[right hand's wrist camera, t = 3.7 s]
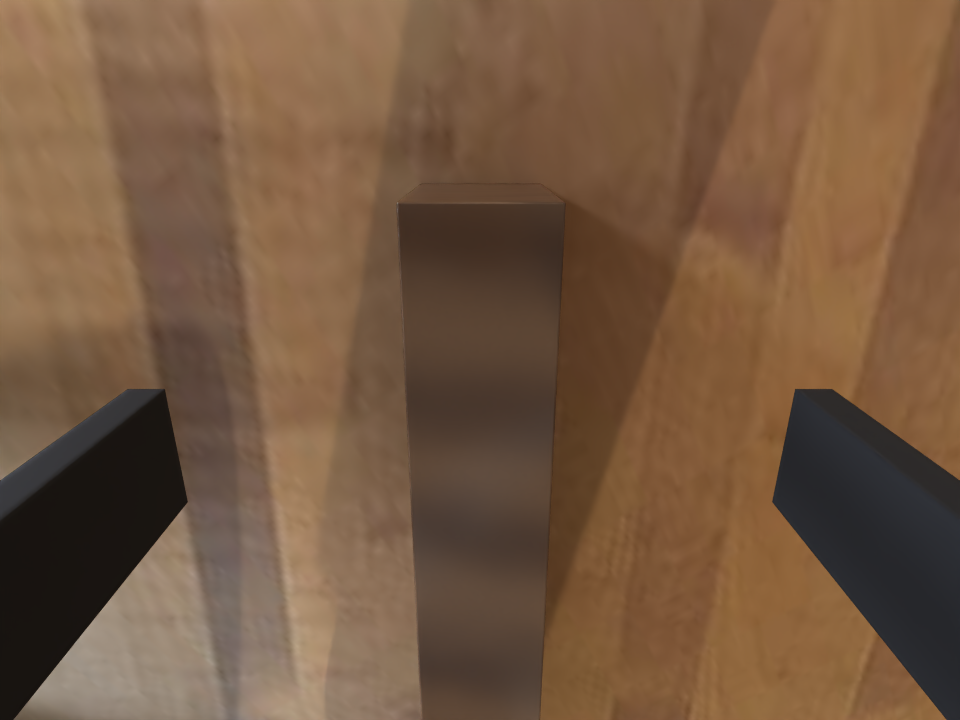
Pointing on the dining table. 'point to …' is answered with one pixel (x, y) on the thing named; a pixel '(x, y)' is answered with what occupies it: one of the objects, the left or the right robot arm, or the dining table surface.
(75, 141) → the dining table surface
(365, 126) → the dining table surface
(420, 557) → the beam
